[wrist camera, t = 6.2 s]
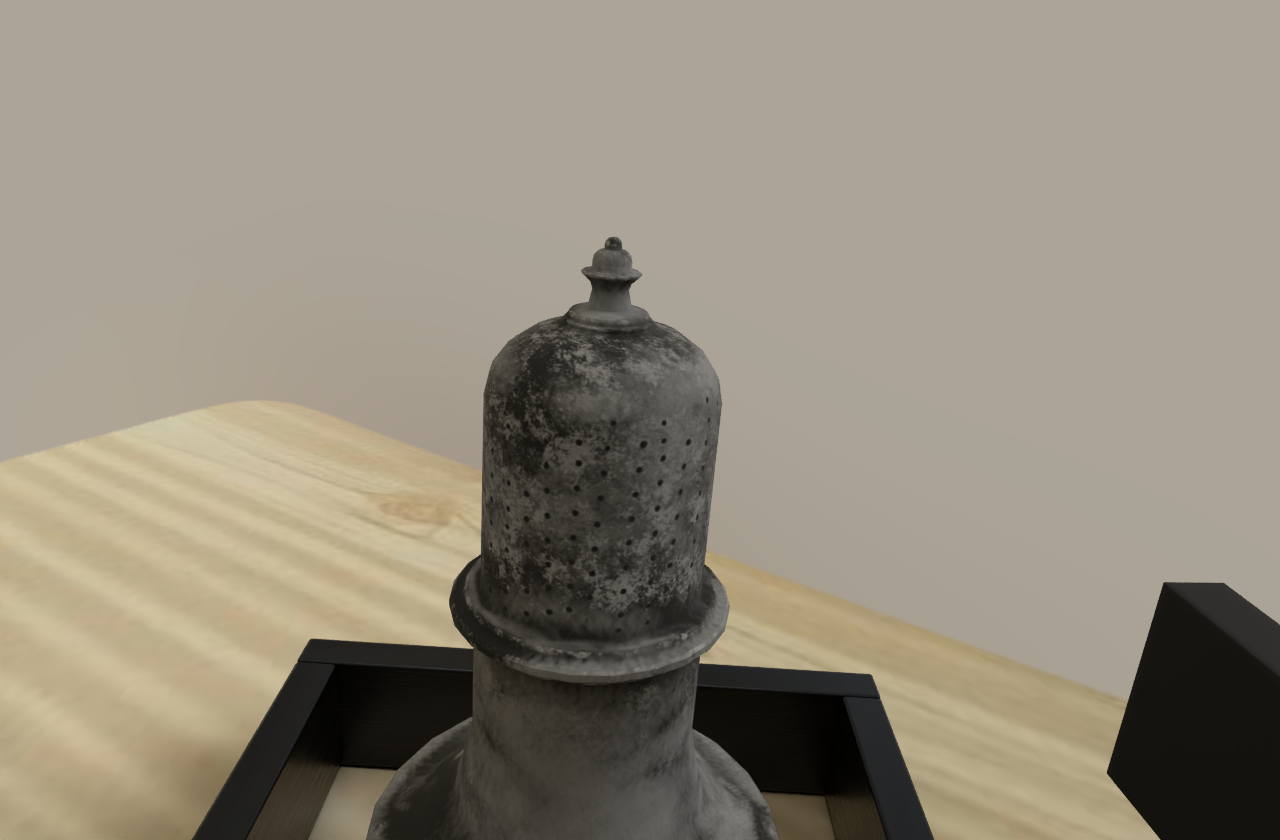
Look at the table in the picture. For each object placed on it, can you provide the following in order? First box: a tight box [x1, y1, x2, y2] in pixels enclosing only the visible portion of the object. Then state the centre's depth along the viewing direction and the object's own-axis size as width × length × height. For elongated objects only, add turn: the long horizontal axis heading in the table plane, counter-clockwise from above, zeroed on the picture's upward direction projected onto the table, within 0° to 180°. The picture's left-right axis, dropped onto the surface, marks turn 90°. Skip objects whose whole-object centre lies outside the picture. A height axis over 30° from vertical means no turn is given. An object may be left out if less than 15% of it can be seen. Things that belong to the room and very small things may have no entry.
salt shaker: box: [366, 237, 779, 840], centre depth 13 cm, size 6×6×12 cm
